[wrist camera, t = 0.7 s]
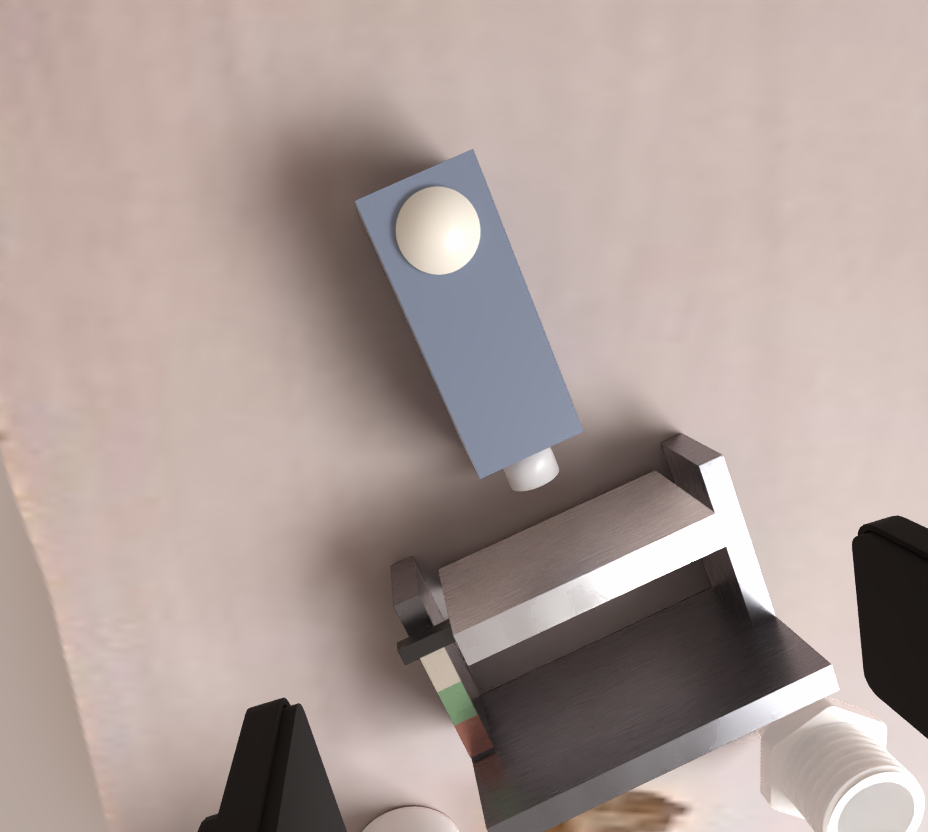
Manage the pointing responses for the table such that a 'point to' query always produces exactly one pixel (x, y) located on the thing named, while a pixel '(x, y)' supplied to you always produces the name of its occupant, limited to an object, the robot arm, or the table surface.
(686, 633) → the gauge frame
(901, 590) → the robot arm
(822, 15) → the table surface
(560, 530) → the anvil plate
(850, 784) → the pipe fitting
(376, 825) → the mug
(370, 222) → the block
